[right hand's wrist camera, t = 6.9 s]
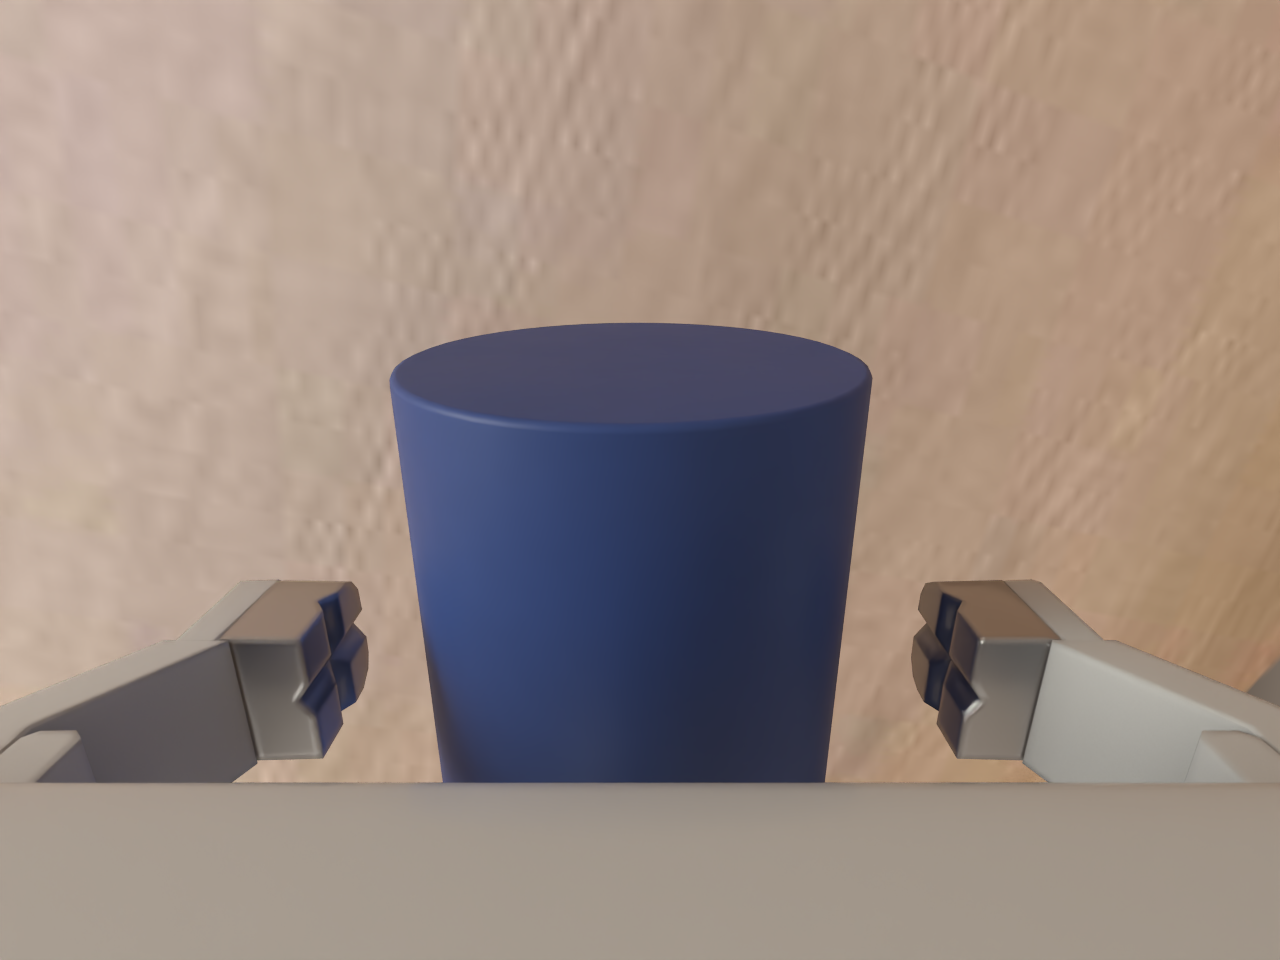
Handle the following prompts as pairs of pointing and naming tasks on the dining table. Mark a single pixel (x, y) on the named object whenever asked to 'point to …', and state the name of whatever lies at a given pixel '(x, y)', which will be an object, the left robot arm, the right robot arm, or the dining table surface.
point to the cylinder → (632, 549)
